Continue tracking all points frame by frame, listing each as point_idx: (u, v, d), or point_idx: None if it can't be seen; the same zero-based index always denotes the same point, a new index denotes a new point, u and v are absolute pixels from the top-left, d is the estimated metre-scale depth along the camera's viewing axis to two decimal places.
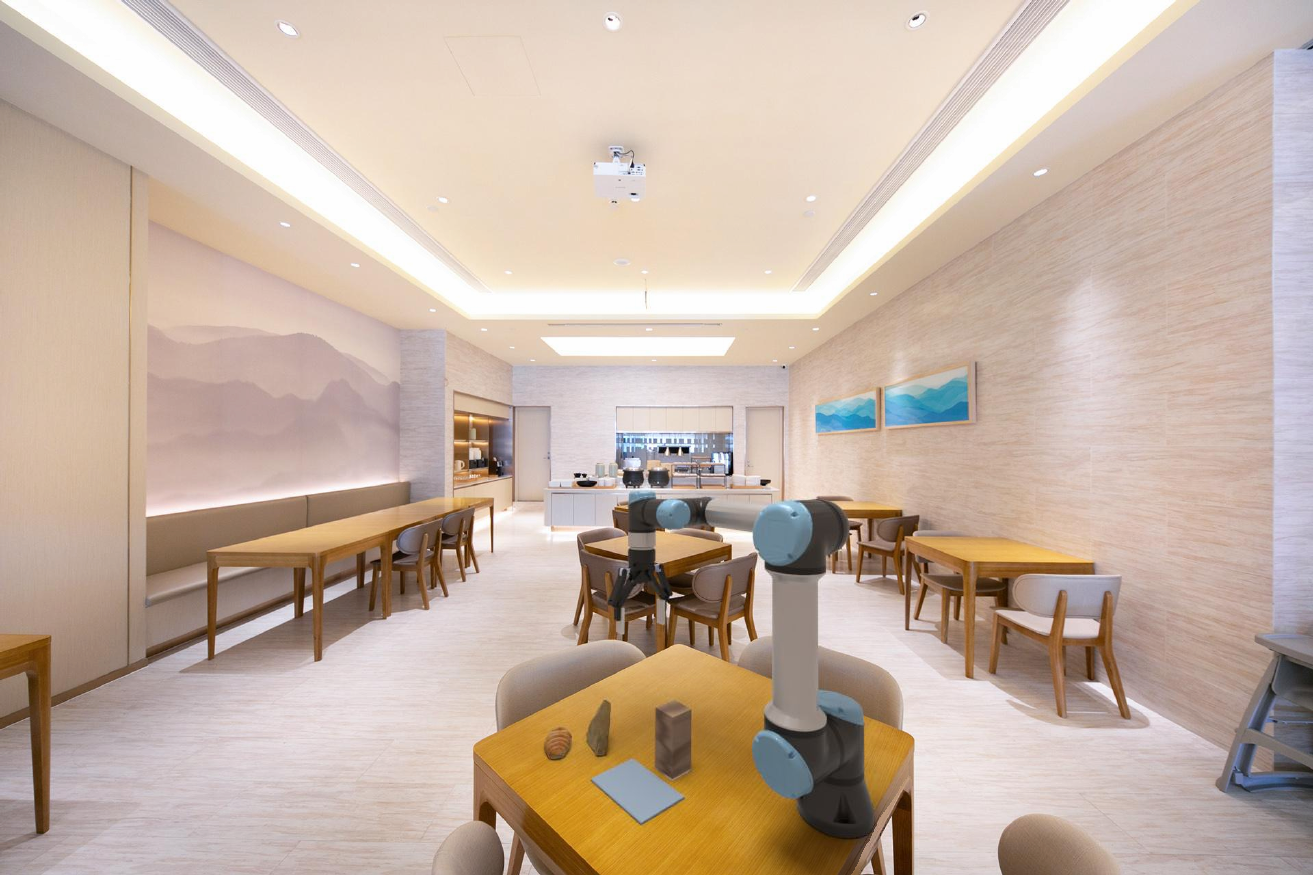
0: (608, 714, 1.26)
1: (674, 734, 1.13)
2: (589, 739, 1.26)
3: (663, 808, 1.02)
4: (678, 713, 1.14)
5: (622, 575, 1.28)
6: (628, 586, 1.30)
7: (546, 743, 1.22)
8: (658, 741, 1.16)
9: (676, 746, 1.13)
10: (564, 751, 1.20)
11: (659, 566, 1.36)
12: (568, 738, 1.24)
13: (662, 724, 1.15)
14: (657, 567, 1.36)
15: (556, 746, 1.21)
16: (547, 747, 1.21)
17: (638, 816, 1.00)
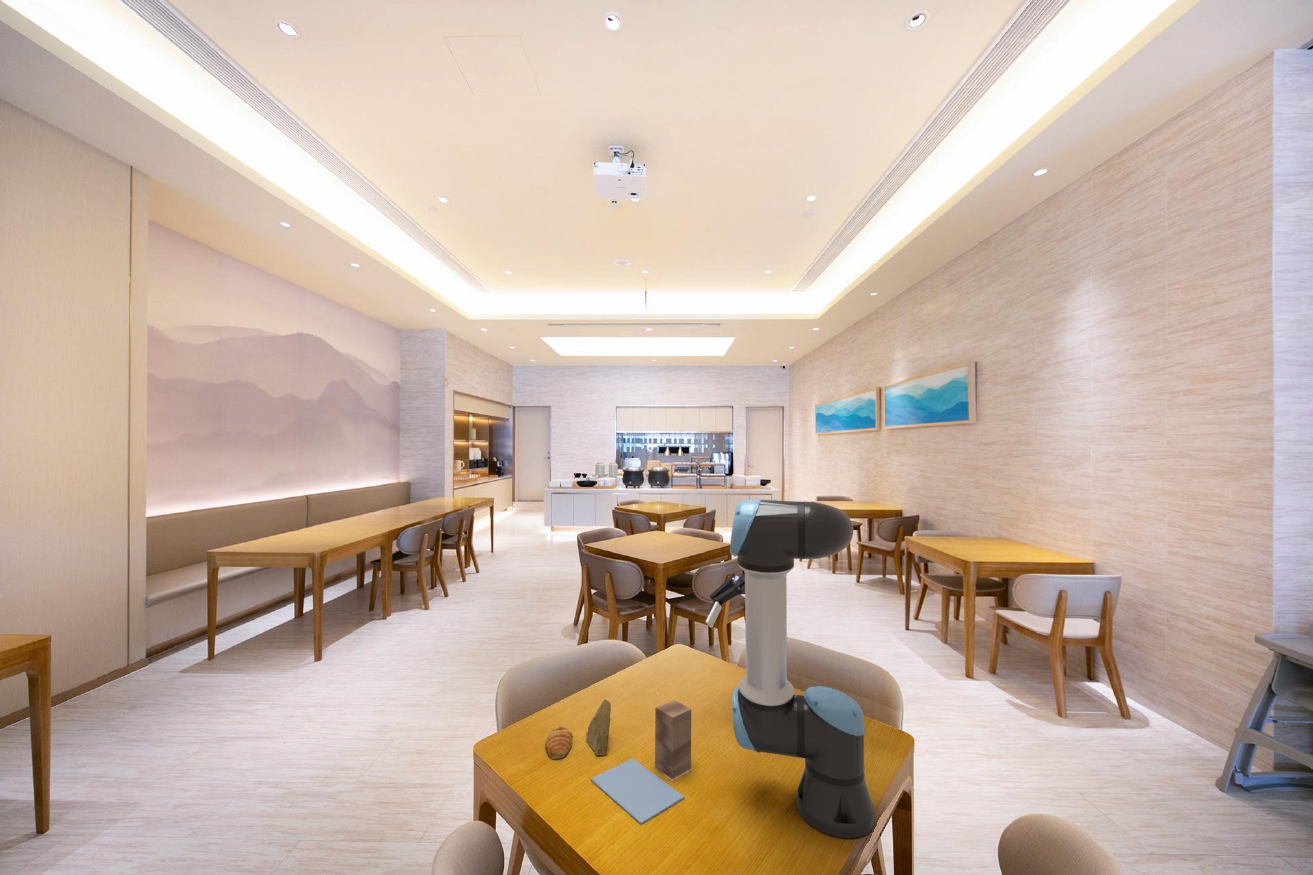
0: (608, 714, 1.26)
1: (674, 734, 1.13)
2: (589, 739, 1.26)
3: (663, 808, 1.02)
4: (678, 713, 1.14)
5: None
6: None
7: (547, 743, 1.22)
8: (658, 741, 1.16)
9: (676, 746, 1.13)
10: (565, 751, 1.20)
11: None
12: (569, 738, 1.24)
13: (662, 724, 1.15)
14: None
15: (557, 746, 1.21)
16: (548, 747, 1.21)
17: (638, 816, 1.00)
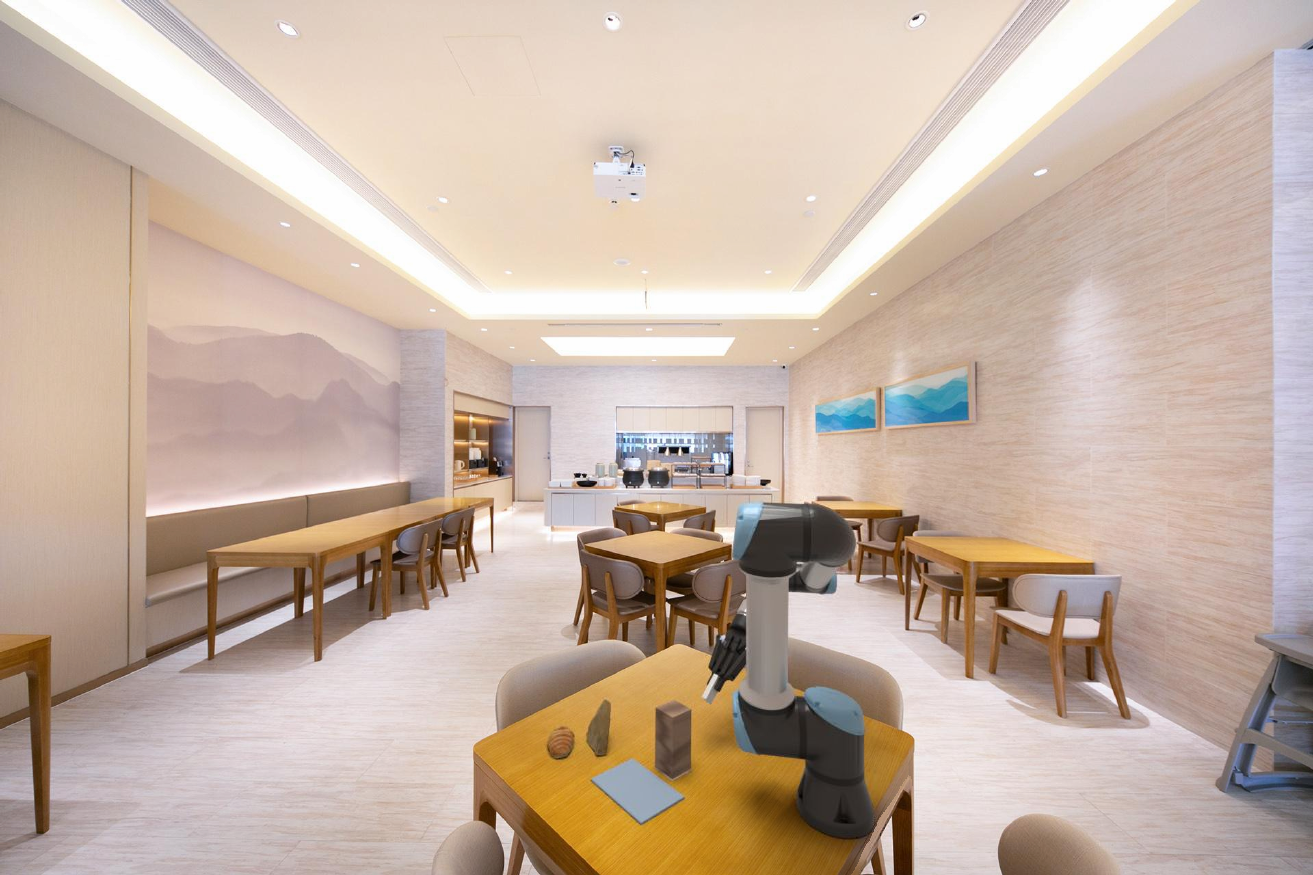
0: (608, 714, 1.26)
1: (674, 734, 1.13)
2: (589, 739, 1.26)
3: (663, 808, 1.02)
4: (678, 713, 1.14)
5: None
6: None
7: (550, 743, 1.23)
8: (658, 741, 1.16)
9: (676, 746, 1.13)
10: (568, 750, 1.21)
11: None
12: (571, 737, 1.24)
13: (662, 724, 1.15)
14: None
15: (560, 745, 1.21)
16: (551, 746, 1.22)
17: (638, 816, 1.00)
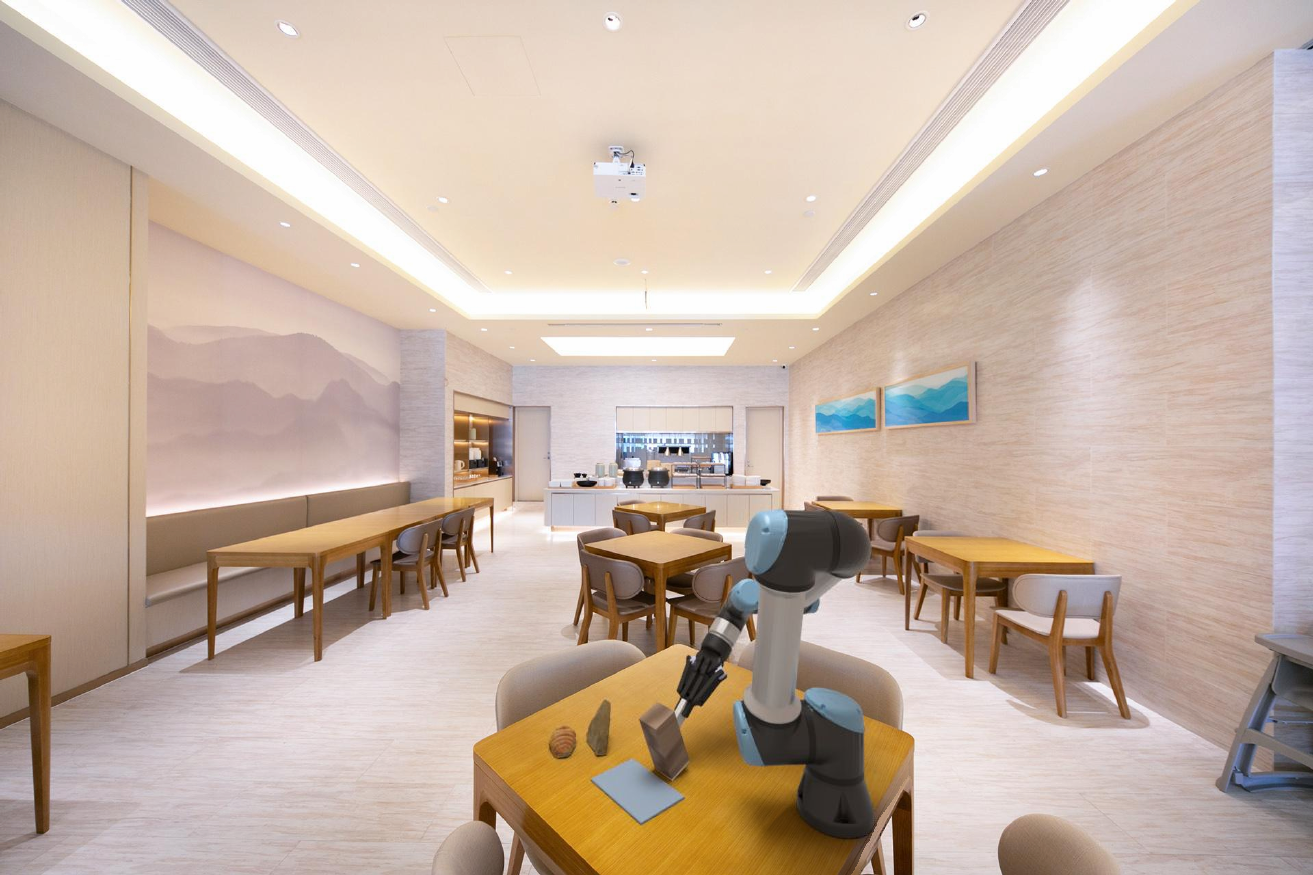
0: (608, 714, 1.26)
1: (663, 742, 1.10)
2: (589, 739, 1.26)
3: (663, 808, 1.02)
4: (661, 721, 1.11)
5: None
6: None
7: (552, 742, 1.23)
8: (650, 747, 1.14)
9: (668, 751, 1.11)
10: (570, 749, 1.21)
11: None
12: (573, 736, 1.25)
13: (649, 733, 1.12)
14: (719, 670, 1.22)
15: (562, 745, 1.21)
16: (553, 746, 1.22)
17: (638, 816, 1.00)
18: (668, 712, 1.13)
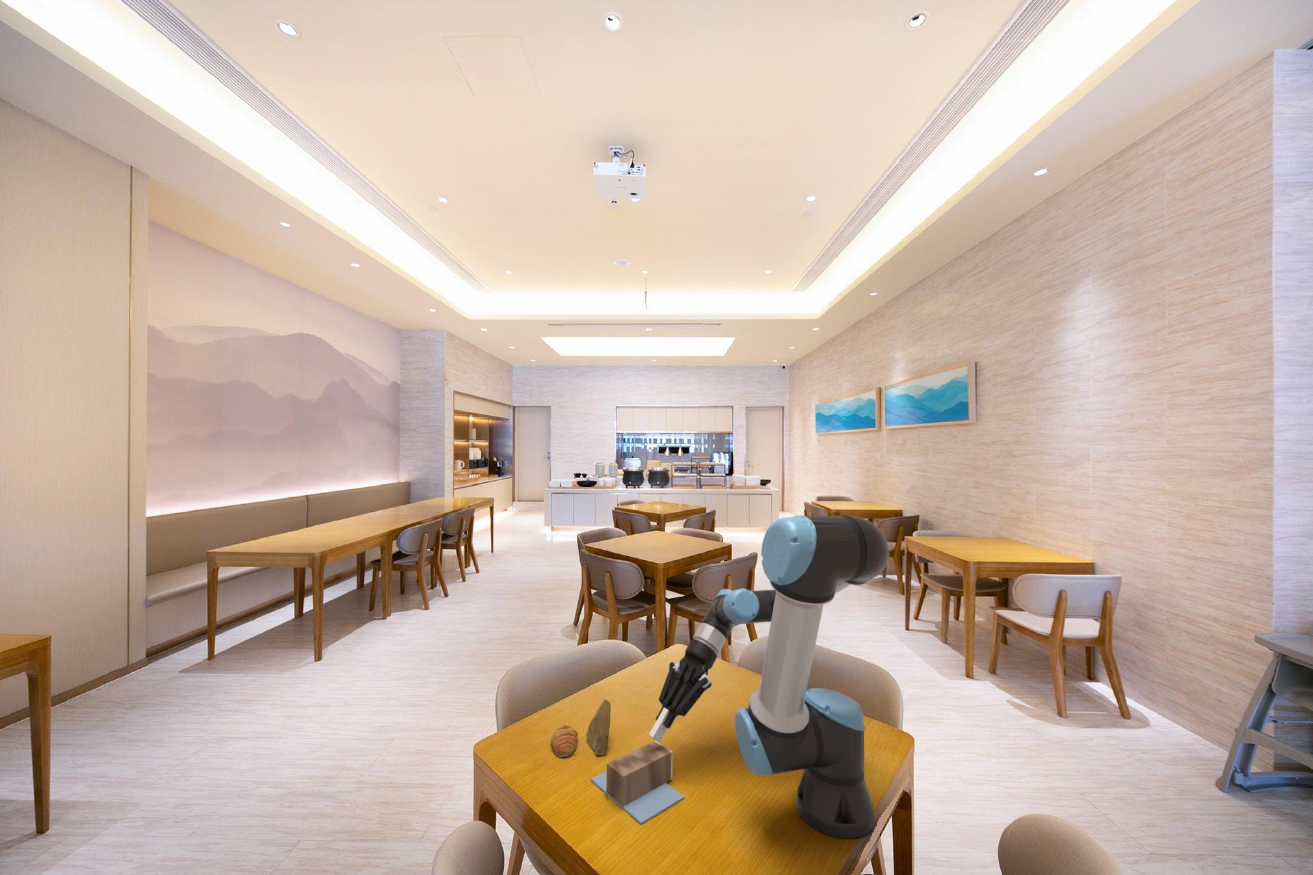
0: (608, 714, 1.26)
1: (638, 794, 1.05)
2: (589, 739, 1.26)
3: (663, 808, 1.02)
4: (621, 794, 1.03)
5: None
6: None
7: (554, 742, 1.23)
8: None
9: (648, 785, 1.07)
10: (572, 749, 1.21)
11: None
12: (575, 736, 1.25)
13: None
14: (703, 678, 1.17)
15: (564, 744, 1.22)
16: (555, 746, 1.22)
17: (638, 816, 1.00)
18: (620, 779, 1.04)
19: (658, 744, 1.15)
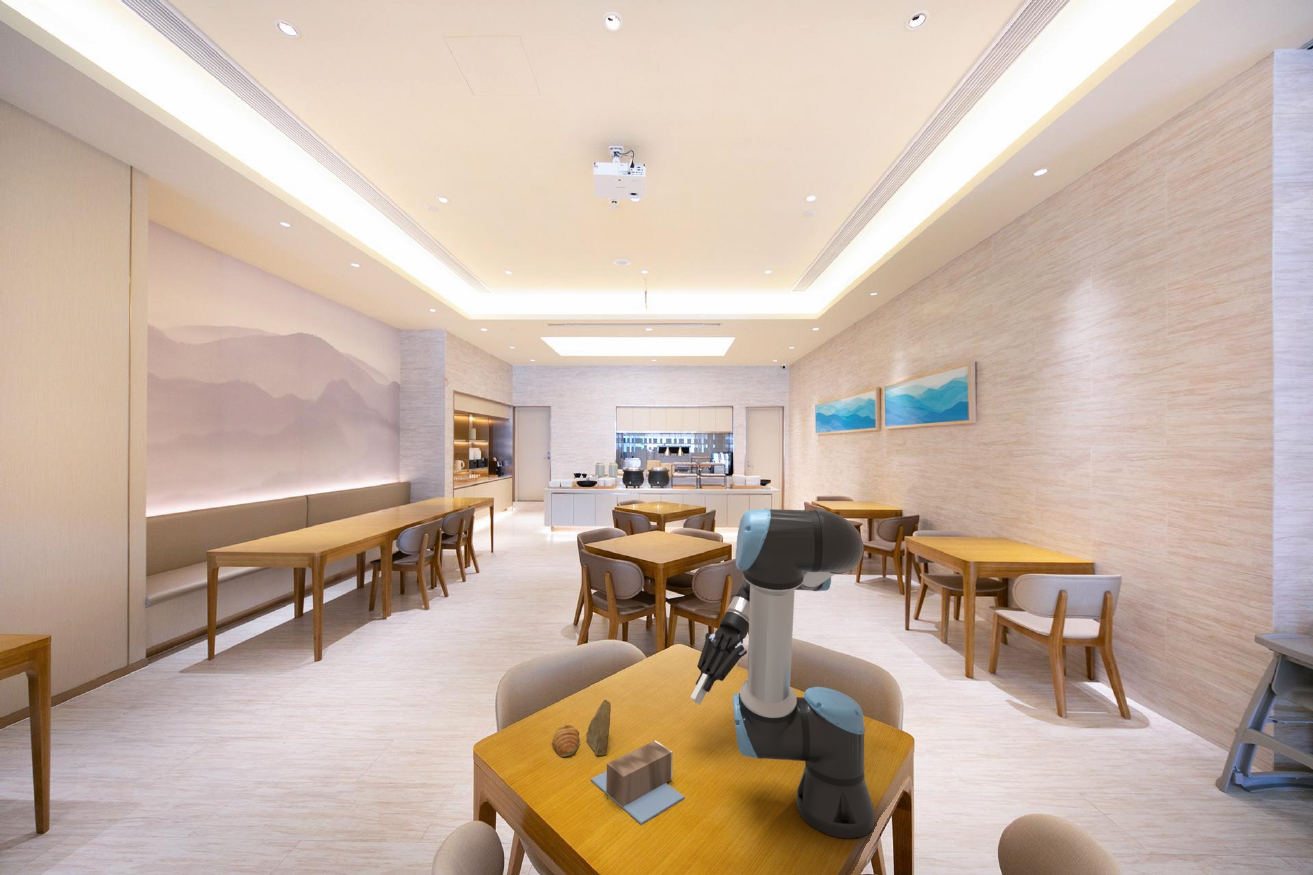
0: (608, 714, 1.26)
1: (638, 794, 1.05)
2: (589, 739, 1.26)
3: (663, 808, 1.02)
4: (621, 794, 1.03)
5: None
6: None
7: (556, 742, 1.23)
8: None
9: (648, 785, 1.07)
10: (575, 748, 1.21)
11: None
12: (577, 735, 1.25)
13: None
14: (739, 646, 1.26)
15: (566, 744, 1.22)
16: (557, 745, 1.22)
17: (638, 816, 1.00)
18: (620, 779, 1.04)
19: (658, 744, 1.15)
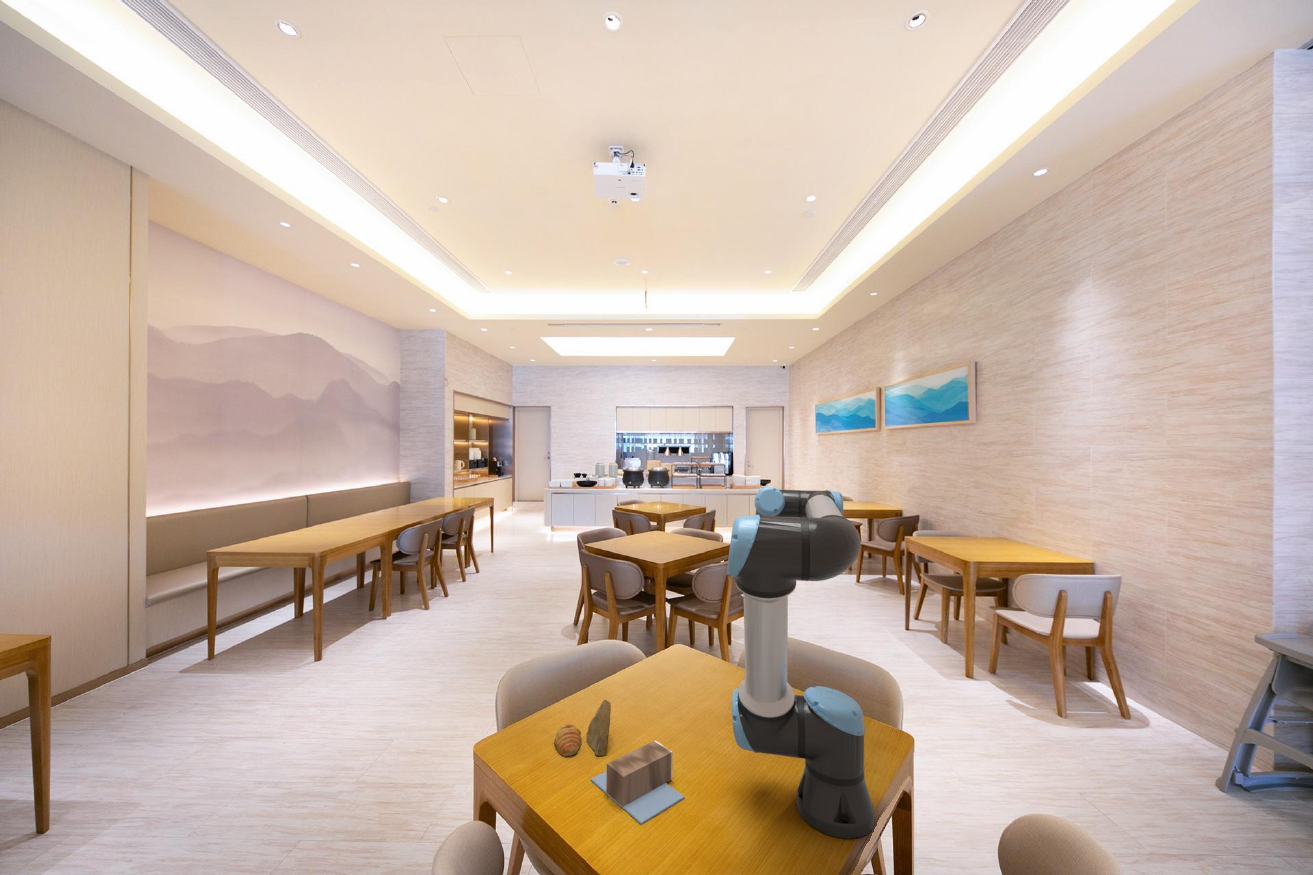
0: (608, 714, 1.26)
1: (638, 794, 1.05)
2: (589, 739, 1.26)
3: (663, 808, 1.02)
4: (621, 794, 1.03)
5: None
6: None
7: (558, 741, 1.23)
8: None
9: (648, 785, 1.07)
10: (577, 747, 1.22)
11: None
12: (579, 735, 1.26)
13: None
14: None
15: (569, 743, 1.22)
16: (559, 745, 1.22)
17: (638, 816, 1.00)
18: (620, 779, 1.04)
19: (658, 744, 1.15)
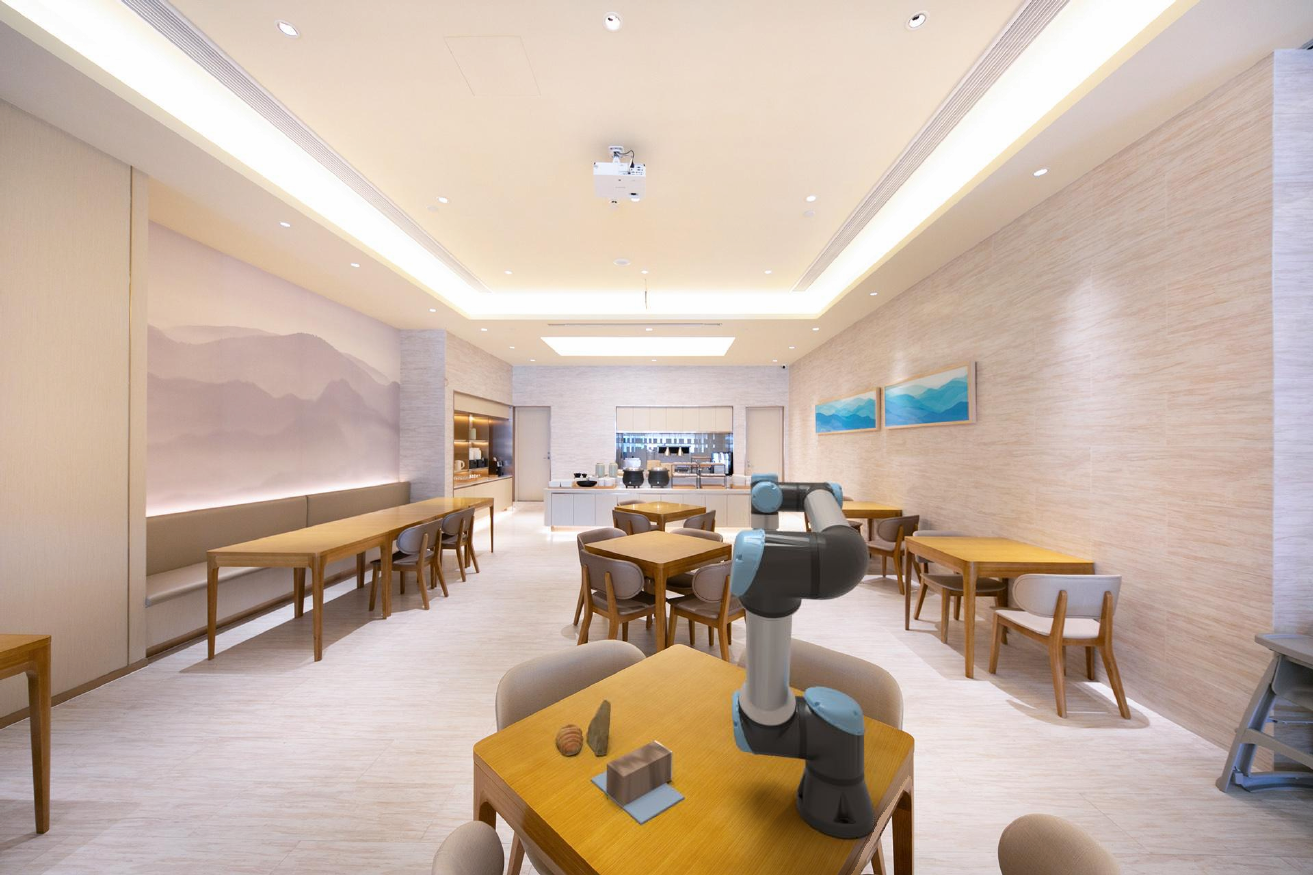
0: (608, 714, 1.26)
1: (638, 794, 1.05)
2: (589, 739, 1.26)
3: (663, 808, 1.02)
4: (621, 794, 1.03)
5: None
6: None
7: (559, 741, 1.24)
8: None
9: (648, 785, 1.07)
10: (579, 747, 1.22)
11: None
12: (580, 734, 1.26)
13: None
14: None
15: (570, 743, 1.22)
16: (561, 744, 1.22)
17: (638, 816, 1.00)
18: (620, 779, 1.04)
19: (658, 744, 1.15)
